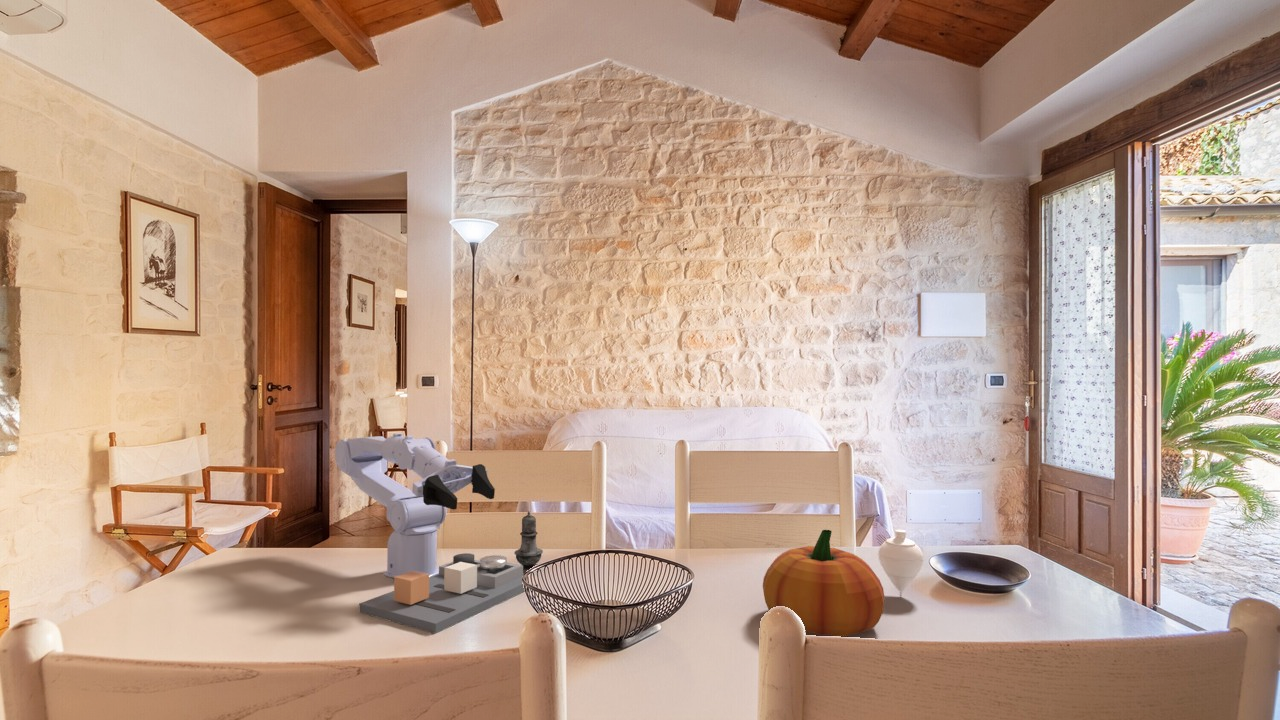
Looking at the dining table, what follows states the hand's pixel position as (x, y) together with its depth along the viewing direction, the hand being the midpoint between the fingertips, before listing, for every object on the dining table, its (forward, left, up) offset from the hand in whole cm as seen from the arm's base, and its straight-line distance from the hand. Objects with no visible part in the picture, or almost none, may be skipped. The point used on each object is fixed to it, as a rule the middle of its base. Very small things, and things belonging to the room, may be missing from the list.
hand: (474, 498), depth 114 cm
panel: (-4, -1, -18) cm, 18 cm away
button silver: (-2, +7, -14) cm, 16 cm away
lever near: (-6, -9, -16) cm, 19 cm away
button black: (-9, +7, -15) cm, 19 cm away
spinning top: (+67, +39, -18) cm, 80 cm away
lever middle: (-2, -1, -16) cm, 16 cm away
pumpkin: (+57, +20, -18) cm, 63 cm away
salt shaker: (-3, +19, -18) cm, 26 cm away
